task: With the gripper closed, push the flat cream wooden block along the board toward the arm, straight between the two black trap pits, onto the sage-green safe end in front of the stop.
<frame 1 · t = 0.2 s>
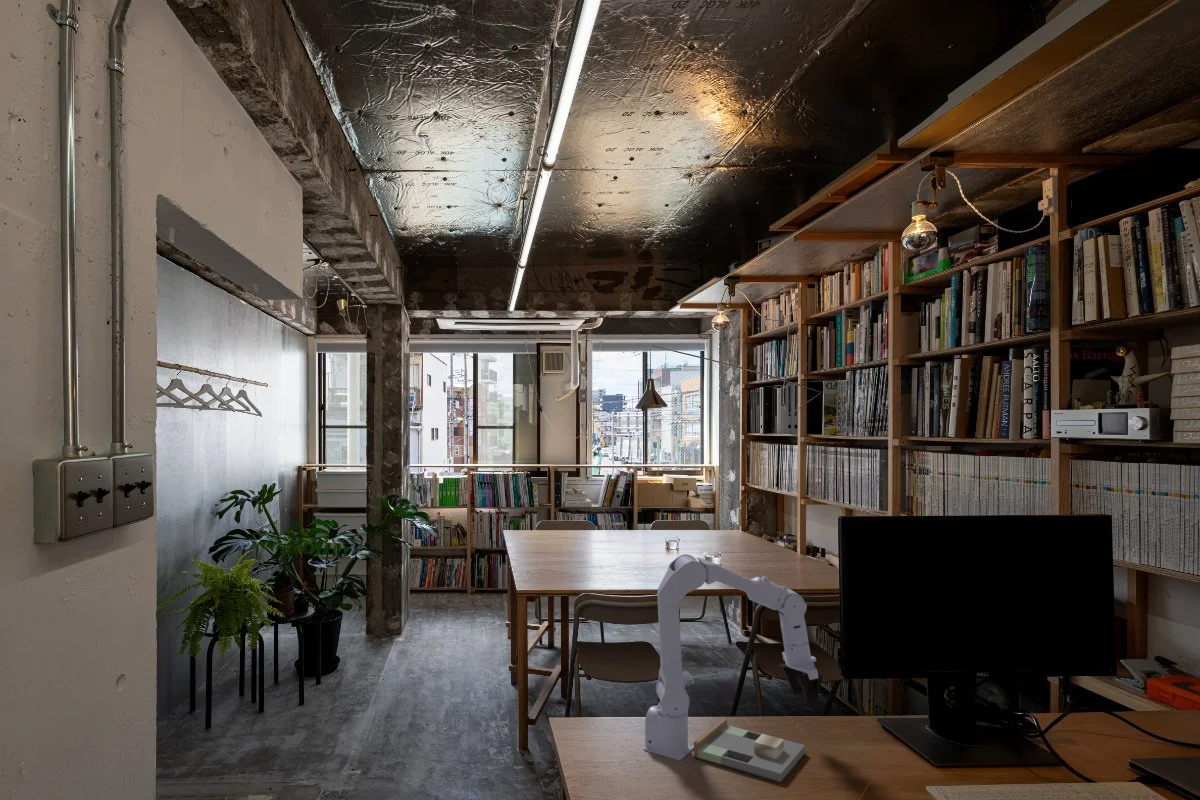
hand: (805, 699, 164), 10 cm above the table, tool pointing down, fingers open, 7 cm apart
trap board: (749, 756, 158), on the table
cream block: (769, 752, 155), point 2 cm above the table, touching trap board
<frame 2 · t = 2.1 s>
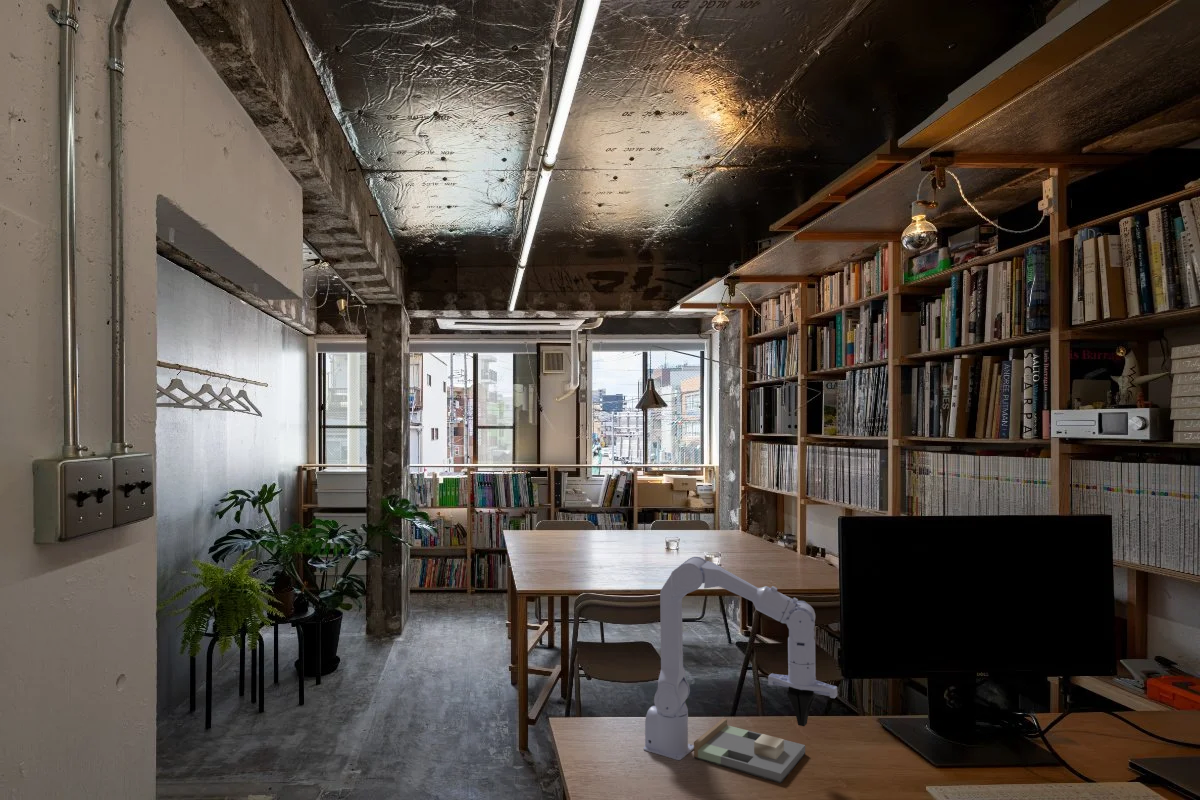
hand: (802, 724, 151), 10 cm above the table, tool pointing down, fingers closed
nothing on the table moved.
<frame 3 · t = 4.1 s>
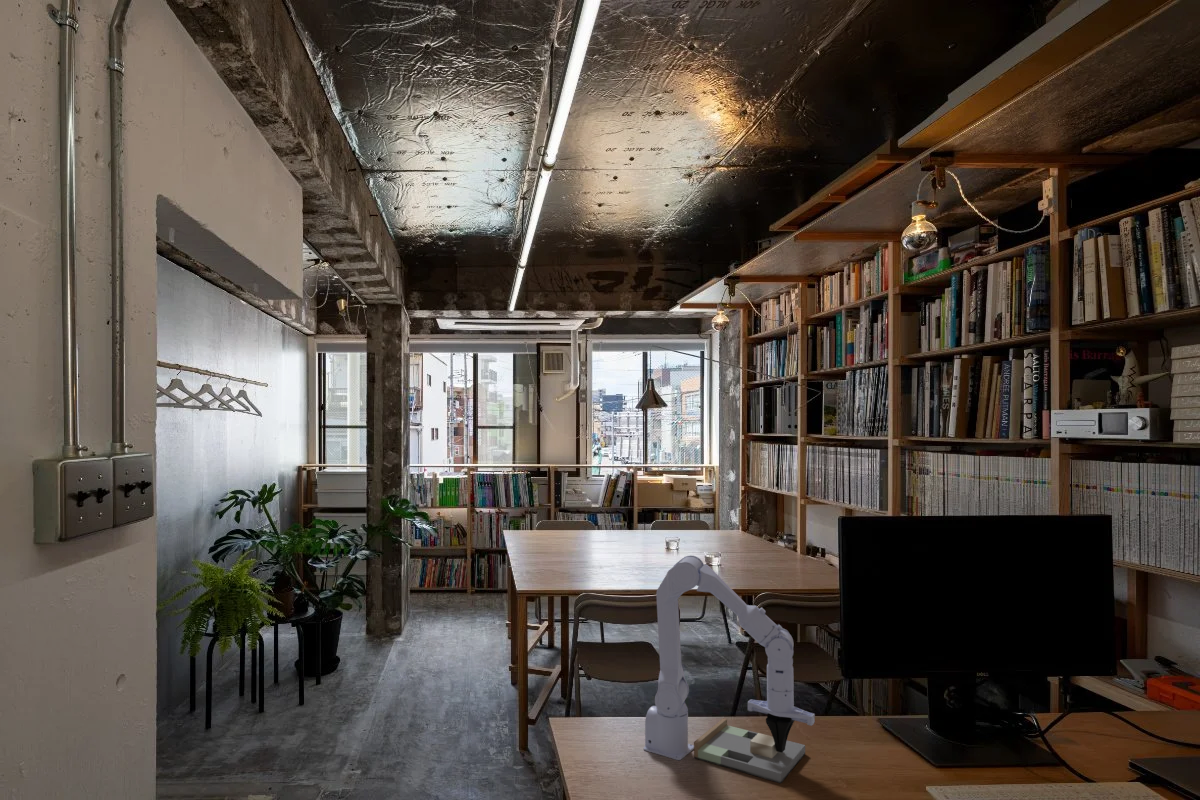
hand: (780, 750, 154), 3 cm above the table, tool pointing down, fingers closed
cream block: (765, 751, 156), point 2 cm above the table, touching gripper, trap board
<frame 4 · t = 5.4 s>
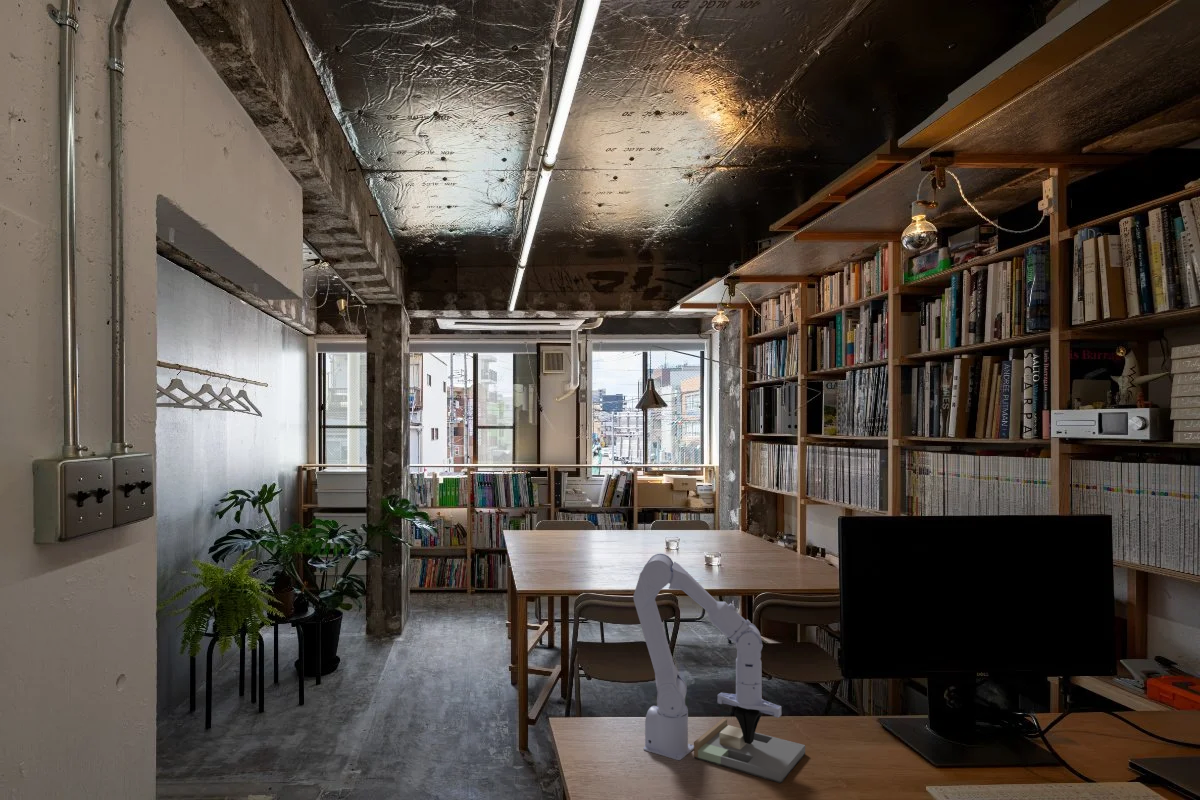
hand: (749, 741, 158), 3 cm above the table, tool pointing down, fingers closed
cream block: (734, 742, 160), point 2 cm above the table, touching gripper
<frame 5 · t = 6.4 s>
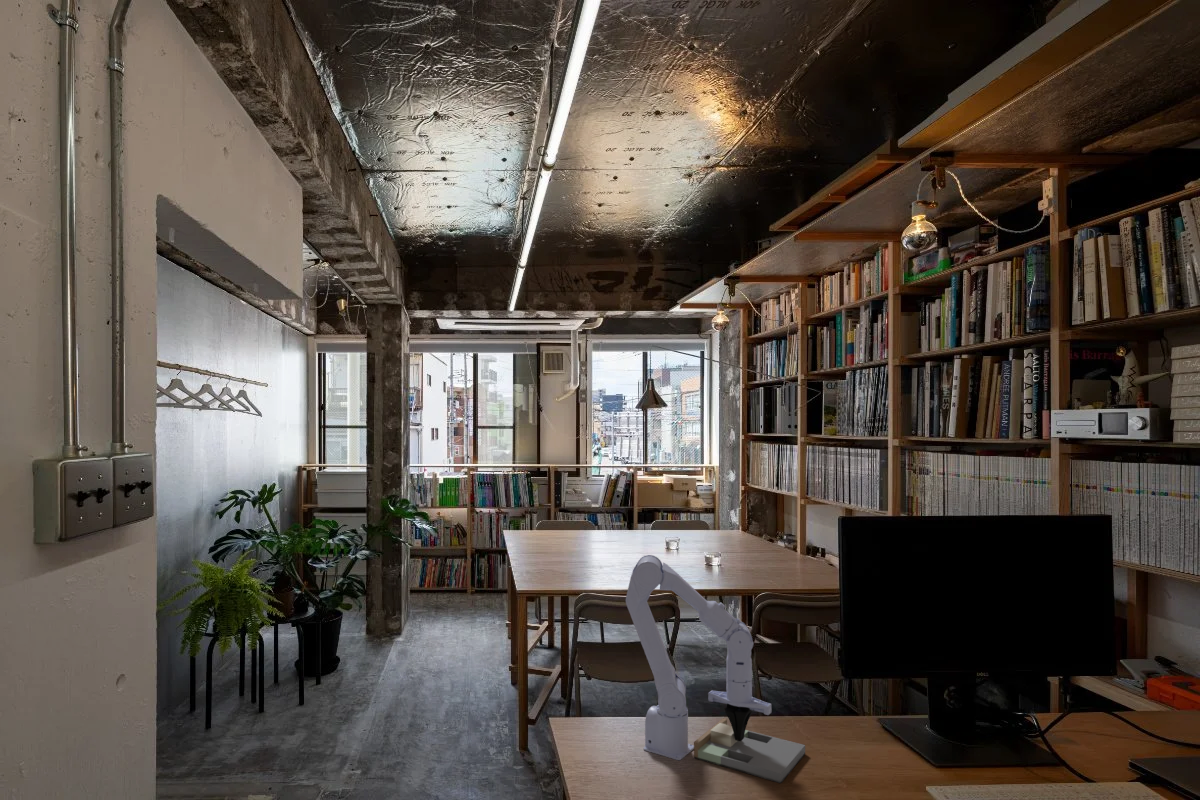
hand: (739, 739, 159), 3 cm above the table, tool pointing down, fingers closed
cream block: (725, 740, 161), point 2 cm above the table, touching gripper, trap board
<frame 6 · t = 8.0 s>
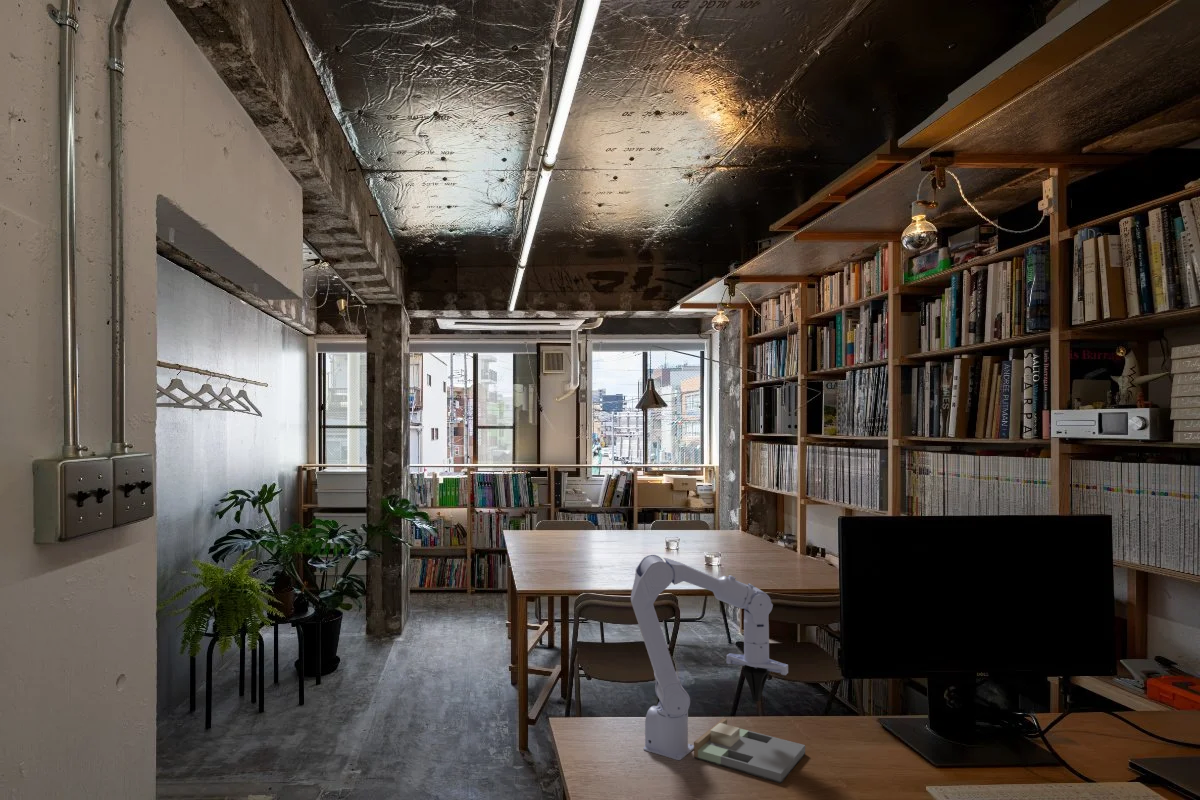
hand: (756, 699, 164), 10 cm above the table, tool pointing down, fingers closed
cream block: (725, 740, 161), point 2 cm above the table, touching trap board
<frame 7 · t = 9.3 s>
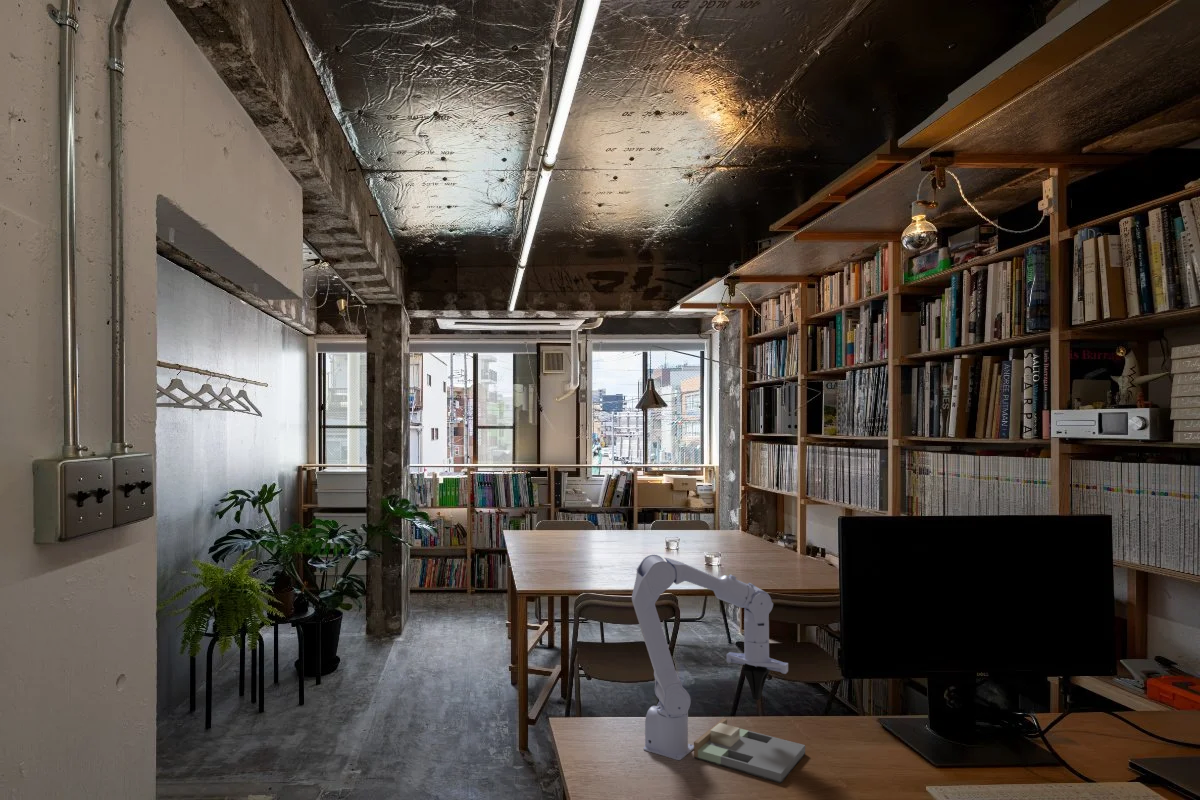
hand: (756, 698, 164), 10 cm above the table, tool pointing down, fingers closed
nothing on the table moved.
at the end: cream block 0.1 cm from the target spot on the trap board, point 2.0 cm above the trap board's base; cream block tilted 0°; the gripper is holding nothing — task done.
